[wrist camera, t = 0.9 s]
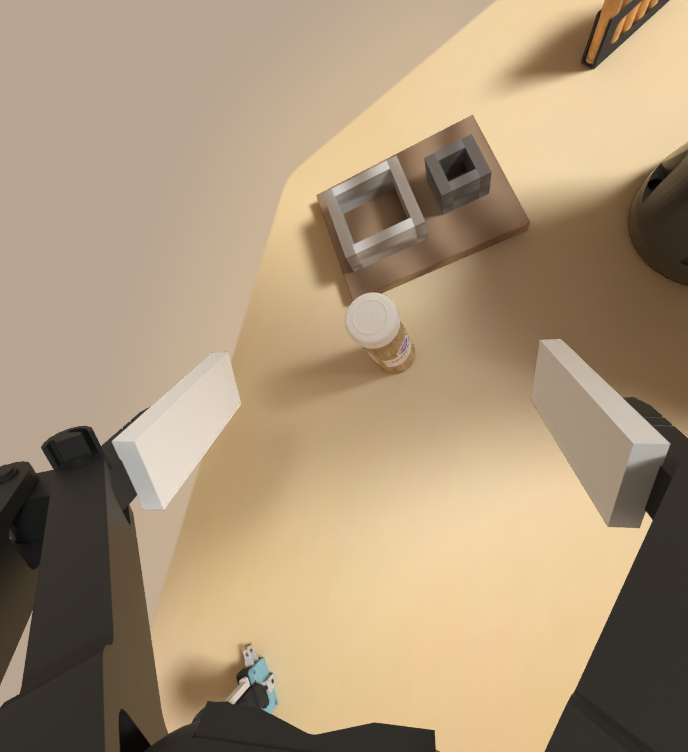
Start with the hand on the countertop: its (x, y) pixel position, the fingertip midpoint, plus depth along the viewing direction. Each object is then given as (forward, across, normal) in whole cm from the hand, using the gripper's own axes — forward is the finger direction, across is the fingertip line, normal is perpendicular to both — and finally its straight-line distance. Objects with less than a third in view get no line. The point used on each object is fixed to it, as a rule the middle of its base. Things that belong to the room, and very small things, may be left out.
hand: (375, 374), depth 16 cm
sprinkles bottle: (+26, 0, -11) cm, 28 cm away
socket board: (+36, +3, +4) cm, 37 cm away
